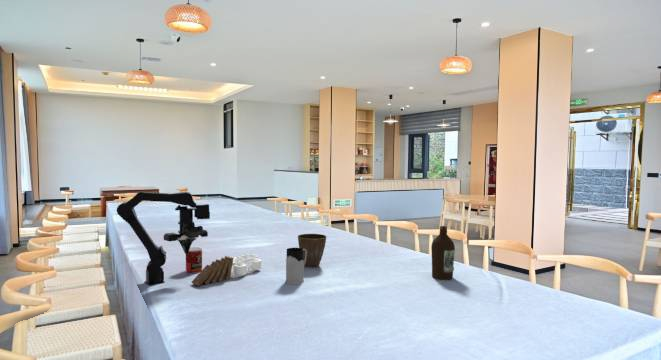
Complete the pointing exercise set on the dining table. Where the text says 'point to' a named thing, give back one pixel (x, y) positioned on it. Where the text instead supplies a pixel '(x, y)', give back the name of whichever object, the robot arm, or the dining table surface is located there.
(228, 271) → the tile
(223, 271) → the tile
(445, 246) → the olive oil
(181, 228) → the robot arm
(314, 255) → the plant pot
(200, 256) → the canned food
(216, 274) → the tile
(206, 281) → the tile
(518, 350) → the dining table surface
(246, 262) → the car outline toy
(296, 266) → the tall mug
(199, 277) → the tile
